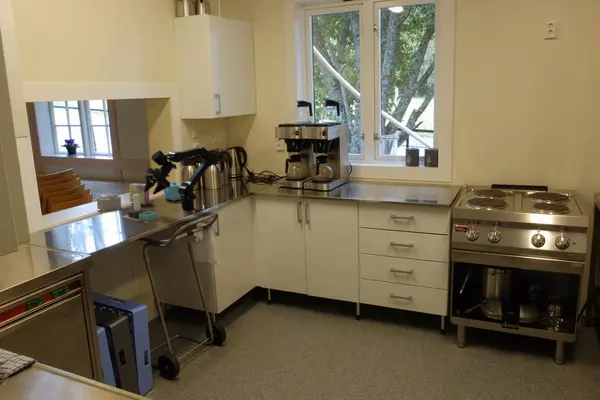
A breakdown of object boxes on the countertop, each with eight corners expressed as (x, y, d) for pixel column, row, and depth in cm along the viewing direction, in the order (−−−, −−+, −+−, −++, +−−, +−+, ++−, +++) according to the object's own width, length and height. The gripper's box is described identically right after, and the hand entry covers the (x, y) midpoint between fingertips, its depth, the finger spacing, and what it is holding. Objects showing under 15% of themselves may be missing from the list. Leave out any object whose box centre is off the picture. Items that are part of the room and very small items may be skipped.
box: (149, 202, 320) (148, 184, 318) (144, 204, 315) (143, 185, 312) (135, 201, 323) (134, 183, 320) (129, 203, 317) (128, 184, 315)
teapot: (194, 198, 334) (193, 181, 331) (169, 202, 321) (169, 184, 319) (183, 195, 342) (182, 179, 340) (159, 199, 329) (158, 182, 327)
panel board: (121, 218, 281) (120, 211, 280) (139, 214, 290) (139, 207, 289) (146, 224, 268) (146, 217, 267) (164, 220, 278) (164, 213, 277)
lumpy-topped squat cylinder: (95, 209, 300) (94, 195, 298) (116, 206, 310) (115, 192, 308) (104, 212, 293) (103, 197, 292) (125, 208, 303) (124, 194, 301)
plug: (141, 215, 284) (140, 194, 281) (140, 216, 280) (139, 195, 278) (134, 215, 283) (133, 194, 281) (133, 217, 280) (132, 195, 277)
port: (139, 219, 276) (138, 213, 275) (149, 216, 281) (149, 211, 280) (147, 221, 272) (146, 215, 271) (157, 218, 277) (157, 213, 276)
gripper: (146, 160, 290) (130, 182, 285) (164, 163, 278) (147, 187, 273) (159, 171, 298) (144, 193, 293) (177, 175, 285) (161, 198, 280)
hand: (148, 193), depth 284 cm, fingers open, 9 cm apart
